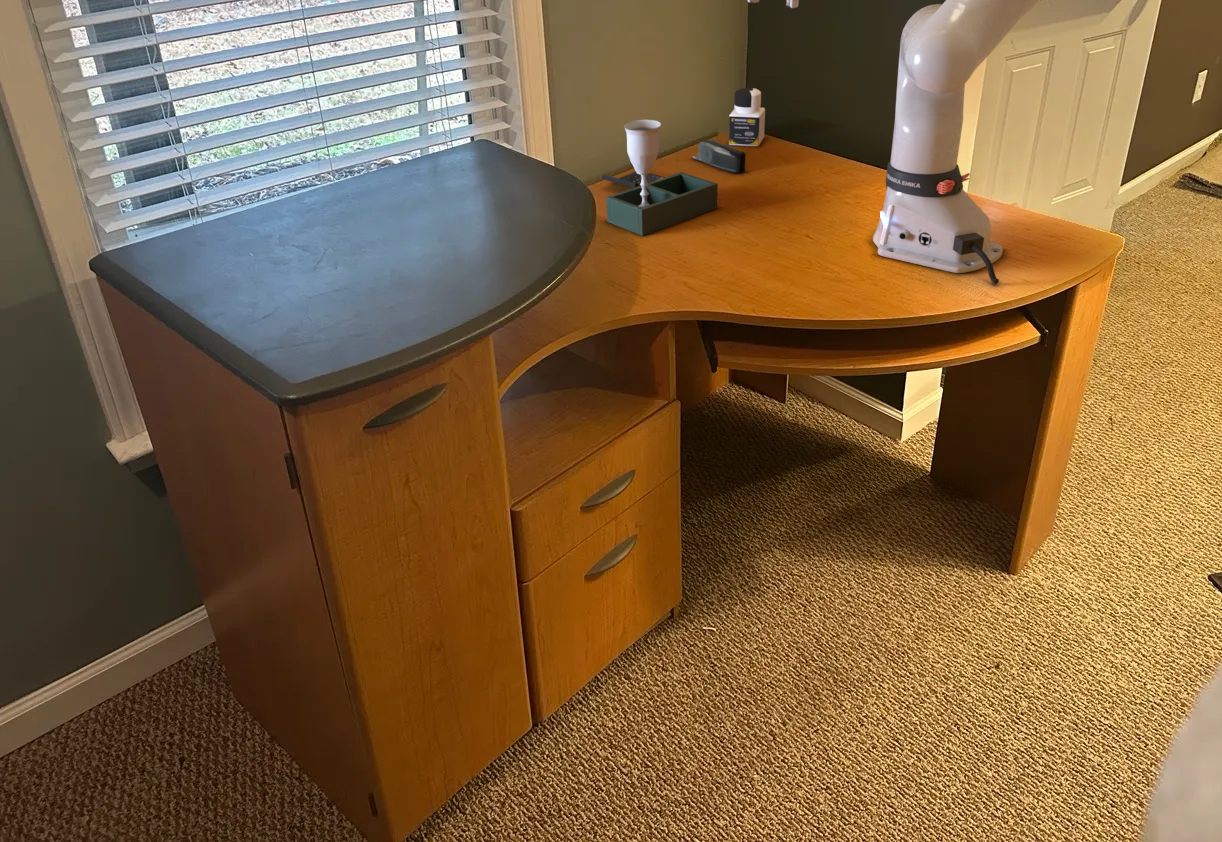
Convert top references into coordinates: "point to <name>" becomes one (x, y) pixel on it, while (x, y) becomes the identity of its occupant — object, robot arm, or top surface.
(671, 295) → the top surface
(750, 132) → the medicine bottle
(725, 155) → the stapler
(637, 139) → the chalice
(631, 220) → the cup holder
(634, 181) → the calculator
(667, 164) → the top surface
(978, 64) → the robot arm
